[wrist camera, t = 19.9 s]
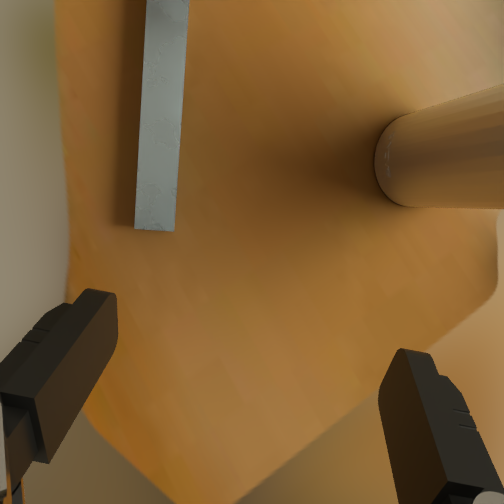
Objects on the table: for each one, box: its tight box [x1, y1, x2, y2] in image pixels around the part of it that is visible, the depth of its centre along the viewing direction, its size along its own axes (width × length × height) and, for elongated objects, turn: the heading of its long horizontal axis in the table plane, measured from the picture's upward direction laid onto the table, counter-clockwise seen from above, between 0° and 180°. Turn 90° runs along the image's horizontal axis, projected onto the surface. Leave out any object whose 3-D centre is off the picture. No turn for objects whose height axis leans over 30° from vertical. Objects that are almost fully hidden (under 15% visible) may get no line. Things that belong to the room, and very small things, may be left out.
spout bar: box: [134, 0, 189, 231], centre depth 30 cm, size 22×3×3 cm, turn 175°
